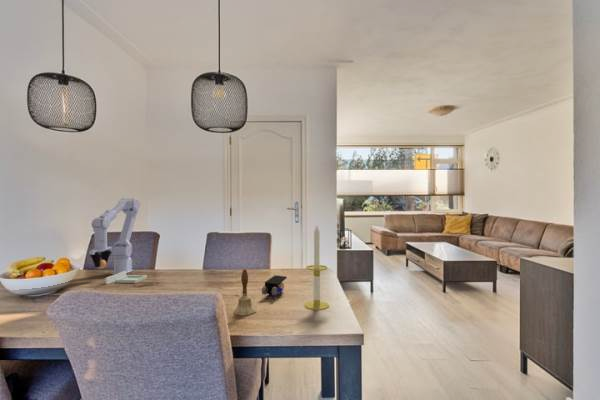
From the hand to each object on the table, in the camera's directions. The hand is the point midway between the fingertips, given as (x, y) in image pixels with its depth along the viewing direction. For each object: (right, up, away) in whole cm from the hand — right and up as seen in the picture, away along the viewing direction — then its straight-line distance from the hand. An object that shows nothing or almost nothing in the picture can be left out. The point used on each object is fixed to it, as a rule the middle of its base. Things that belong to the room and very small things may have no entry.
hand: (101, 265), depth 172 cm
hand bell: (+85, -8, -49) cm, 98 cm away
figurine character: (+94, -8, -28) cm, 99 cm away
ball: (0, -2, 0) cm, 2 cm away
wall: (+8, -7, -1) cm, 11 cm away
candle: (+112, -8, -42) cm, 120 cm away
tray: (+17, -7, -1) cm, 19 cm away
